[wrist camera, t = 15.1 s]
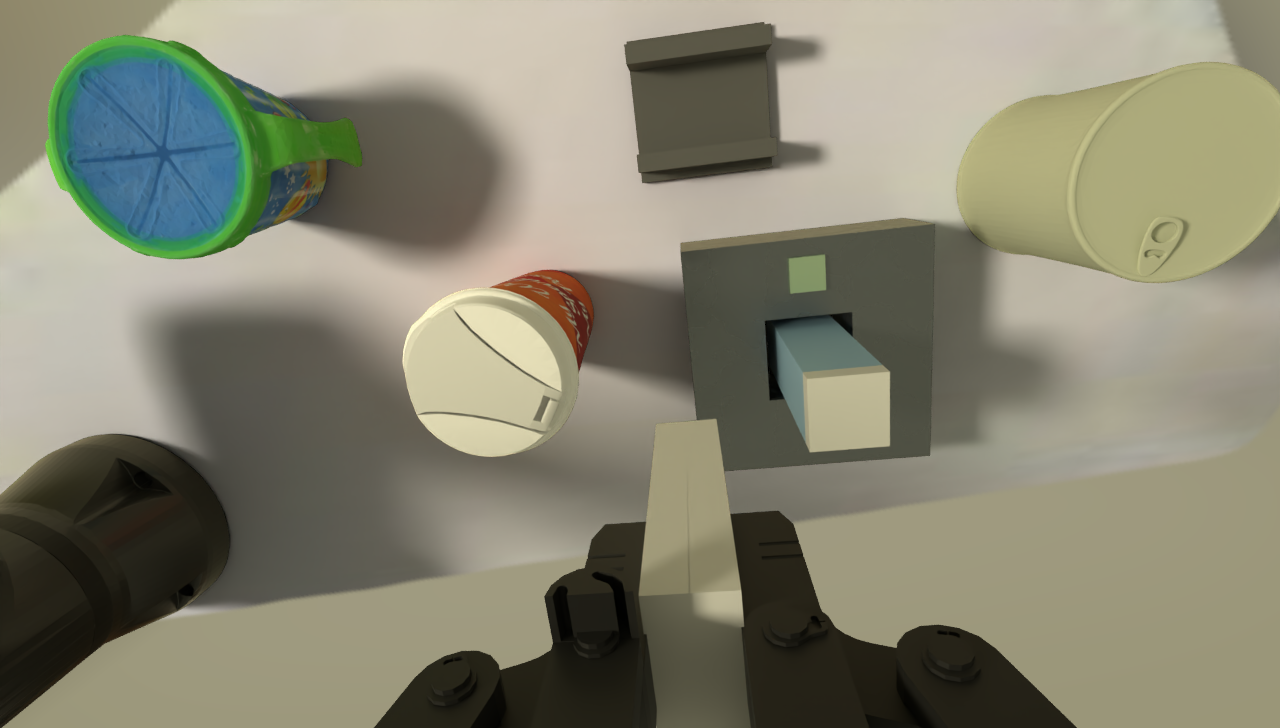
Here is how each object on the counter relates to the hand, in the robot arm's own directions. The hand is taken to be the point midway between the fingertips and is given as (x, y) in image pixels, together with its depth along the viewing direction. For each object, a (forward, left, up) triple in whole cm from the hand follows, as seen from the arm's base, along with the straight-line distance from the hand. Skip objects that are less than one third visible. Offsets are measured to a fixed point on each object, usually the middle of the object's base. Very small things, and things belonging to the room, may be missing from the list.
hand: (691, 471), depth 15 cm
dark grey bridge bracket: (+2, +11, -26) cm, 29 cm away
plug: (+7, -4, -26) cm, 28 cm away
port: (+7, -4, -26) cm, 28 cm away
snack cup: (-26, +11, -27) cm, 39 cm away
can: (+22, +4, -27) cm, 35 cm away
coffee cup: (-9, -1, -27) cm, 28 cm away
